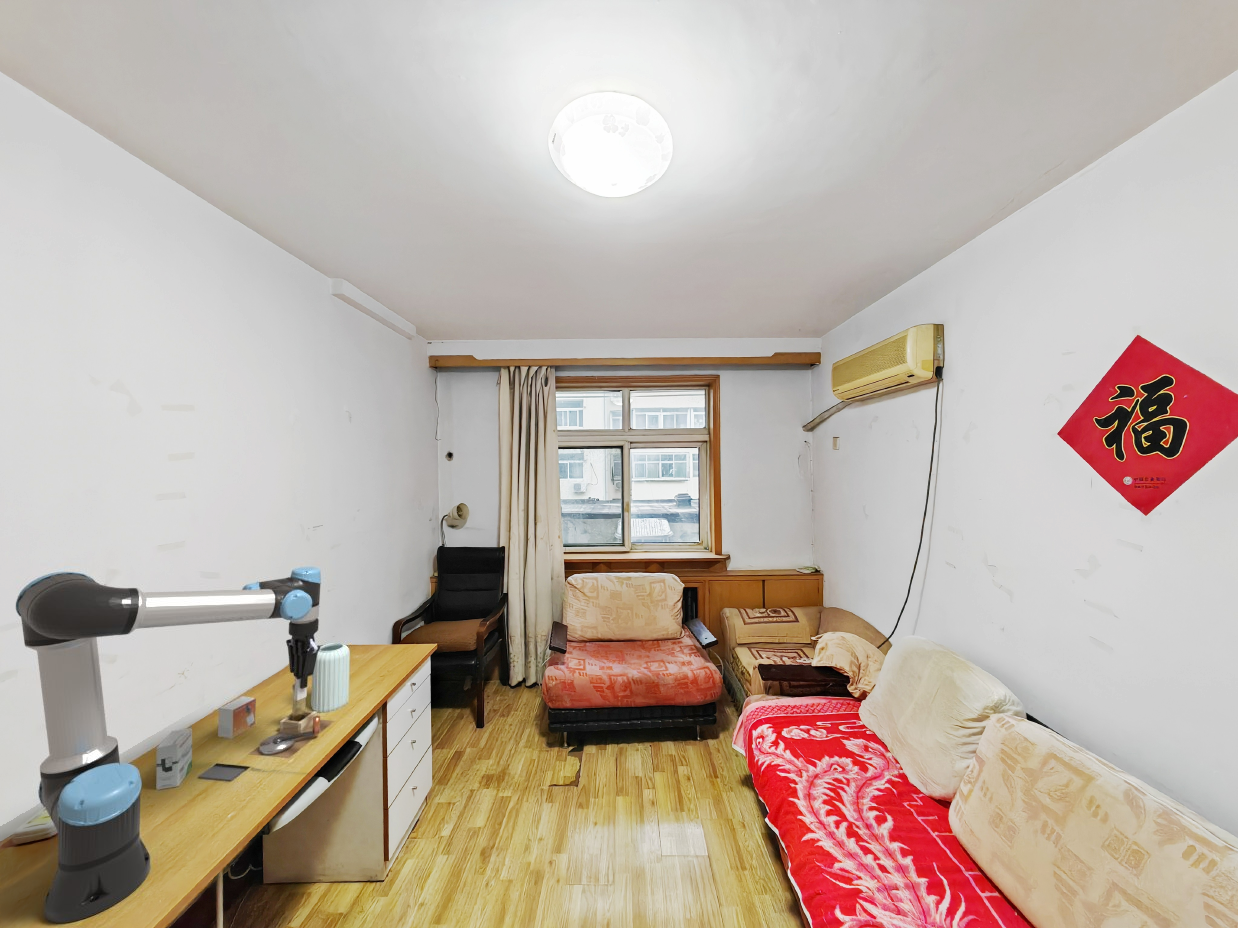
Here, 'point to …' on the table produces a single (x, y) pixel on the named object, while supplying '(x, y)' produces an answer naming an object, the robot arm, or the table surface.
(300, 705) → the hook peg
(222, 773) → the mat
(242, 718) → the small box
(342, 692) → the vase
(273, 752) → the handwheel
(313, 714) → the square socket
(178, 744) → the ink box
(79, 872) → the robot arm
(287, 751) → the mount board
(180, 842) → the table surface
